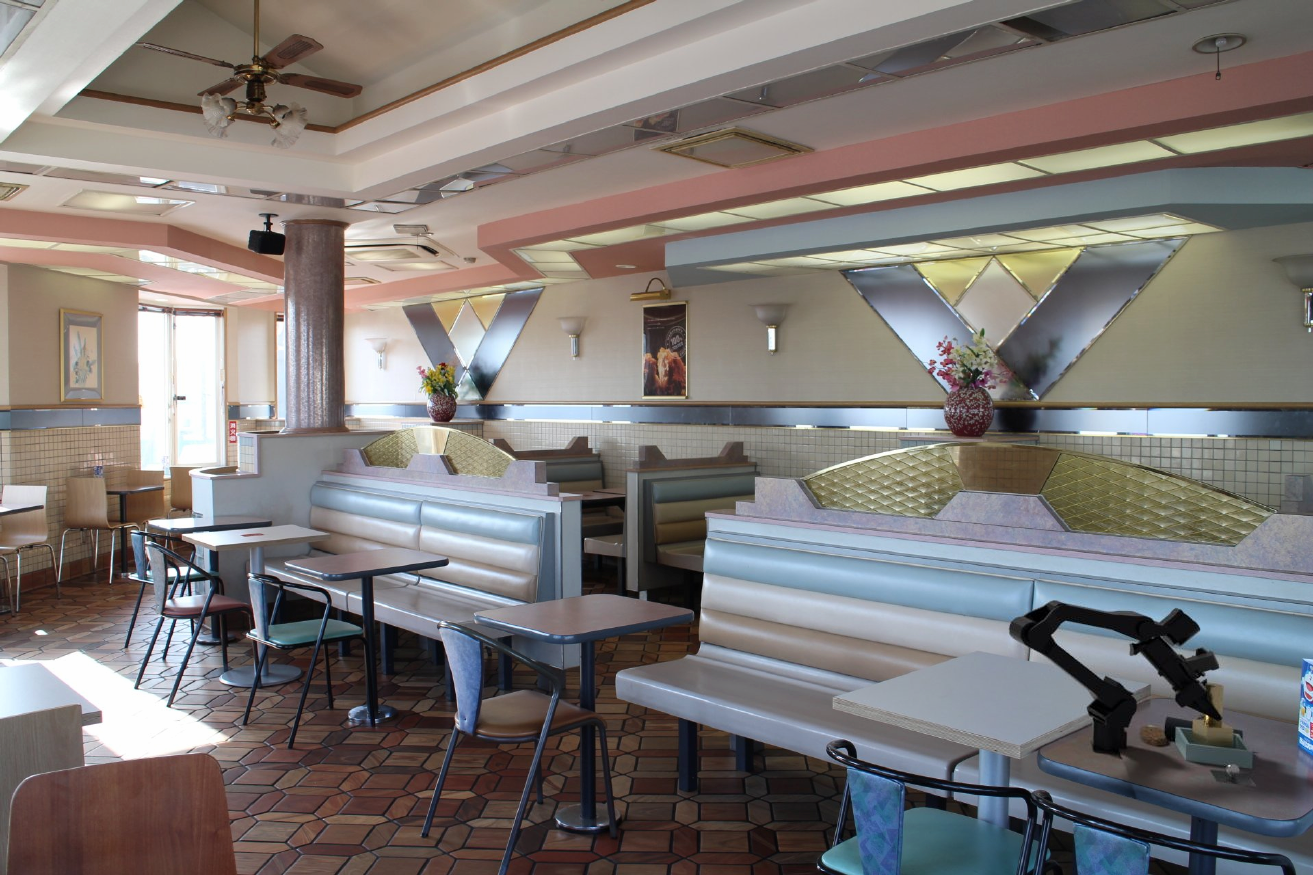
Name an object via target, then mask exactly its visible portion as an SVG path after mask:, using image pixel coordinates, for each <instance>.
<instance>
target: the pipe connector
mask: <svg viewBox="0 0 1313 875" xmlns="http://www.w3.org/2000/svg"><path fill="white" fill-rule="evenodd" d="M1197 720H1204V714H1203V713H1201V714H1199V716H1198V717H1197ZM1176 727H1181V728H1189V729H1193V720H1189V719H1183V718H1177V717H1171V716H1166V717H1165V721H1164V730H1163V731H1164V732H1165V737H1166V739H1168V738H1172V739H1171V740H1173V739H1175V738H1176ZM1233 734H1239V735H1240V737H1241V738H1242V739H1243V740H1244V736H1243V735H1244V732H1243V730H1242V729H1236V728H1233Z"/></svg>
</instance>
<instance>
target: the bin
mask: <svg viewBox="0 0 1313 875" xmlns="http://www.w3.org/2000/svg"><path fill="white" fill-rule="evenodd" d="M1192 731H1193V729H1189V728H1181V727H1176V738H1175V740H1174V741H1175V742H1174V743H1175V744H1176V746H1177V748H1178V750H1179V751H1180V753H1181V755H1182V757H1183V759H1184V760H1185V761H1186V762H1194V763H1204V764H1209V765H1219V766H1220V765H1221V766H1226V767H1227V765H1229V764H1235V765H1237V766H1238V768H1244V769H1251V770H1252V769H1253V754H1254V752H1253V750H1252V749H1251V748H1250V747H1249V745H1248V744H1247V743H1246V742H1245V740H1244V738H1243V739H1242V738H1241V737H1240V735H1239V734H1233V749H1231V748H1223V747H1214V746H1206V745H1200V744H1199V743H1197V742H1195V741H1194V740H1192Z"/></svg>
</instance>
